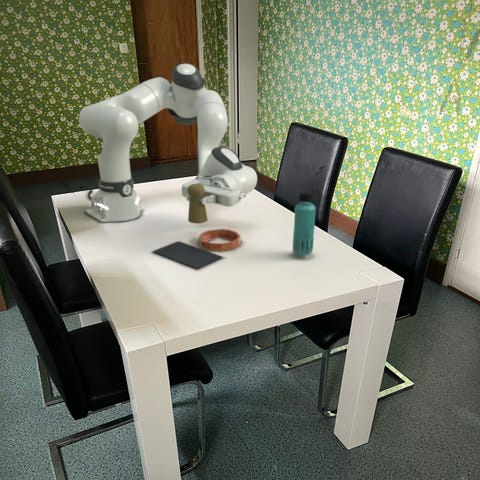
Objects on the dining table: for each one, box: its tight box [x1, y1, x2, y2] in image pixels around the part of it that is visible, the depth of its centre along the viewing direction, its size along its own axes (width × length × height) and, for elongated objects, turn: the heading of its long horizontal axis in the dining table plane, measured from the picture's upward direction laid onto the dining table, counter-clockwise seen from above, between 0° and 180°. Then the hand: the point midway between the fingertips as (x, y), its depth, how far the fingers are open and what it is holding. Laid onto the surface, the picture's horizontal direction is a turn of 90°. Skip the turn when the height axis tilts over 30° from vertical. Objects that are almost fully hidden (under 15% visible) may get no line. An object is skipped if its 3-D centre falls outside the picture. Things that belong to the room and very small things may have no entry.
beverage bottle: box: [292, 190, 317, 256], centre depth 141 cm, size 6×7×20 cm
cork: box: [187, 184, 208, 225], centre depth 141 cm, size 6×6×11 cm
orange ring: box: [197, 228, 242, 252], centre depth 154 cm, size 14×14×2 cm
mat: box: [152, 240, 223, 270], centre depth 147 cm, size 20×11×1 cm, turn 49°
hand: (194, 199), depth 140 cm, fingers closed on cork, 4 cm apart
